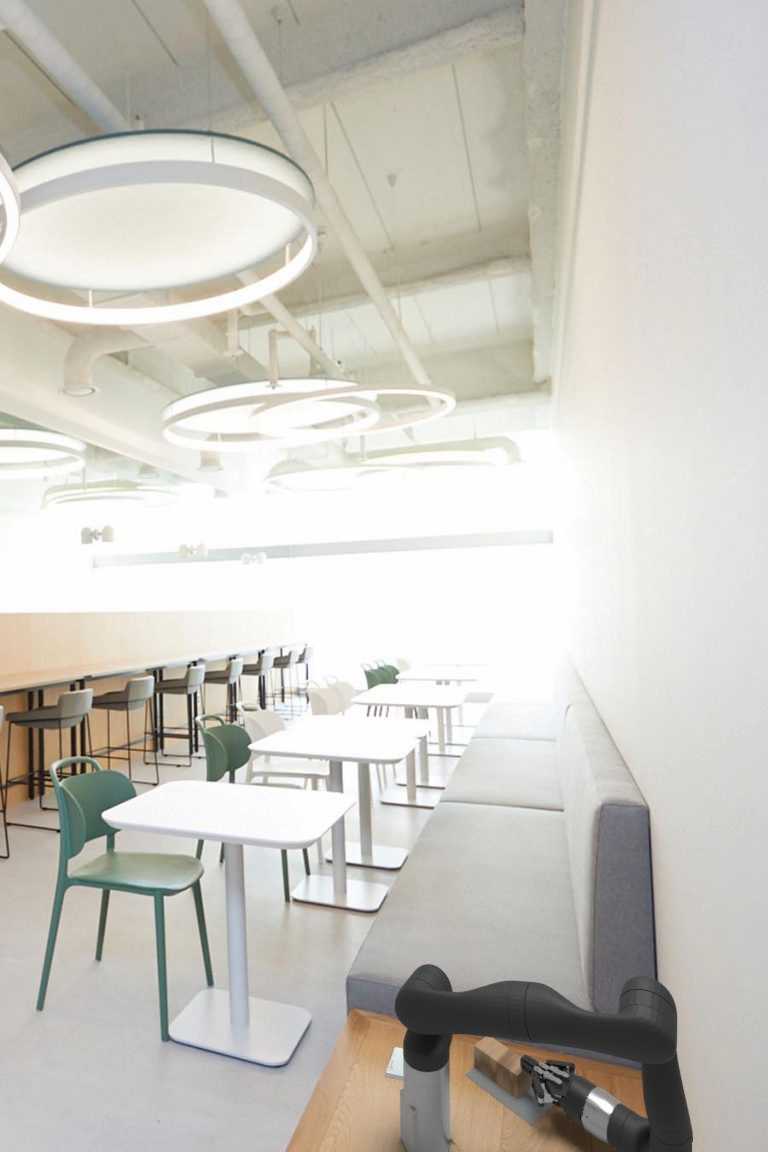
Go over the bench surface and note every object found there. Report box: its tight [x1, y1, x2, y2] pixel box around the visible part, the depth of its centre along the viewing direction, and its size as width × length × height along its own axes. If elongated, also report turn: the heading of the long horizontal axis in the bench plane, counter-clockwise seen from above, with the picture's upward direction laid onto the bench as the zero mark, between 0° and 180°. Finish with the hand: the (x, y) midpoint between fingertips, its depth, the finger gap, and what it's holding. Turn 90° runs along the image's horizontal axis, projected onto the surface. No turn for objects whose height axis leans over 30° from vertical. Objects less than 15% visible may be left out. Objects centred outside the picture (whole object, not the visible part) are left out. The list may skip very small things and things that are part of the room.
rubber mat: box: [464, 1066, 554, 1127], centre depth 140 cm, size 18×10×1 cm, turn 41°
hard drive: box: [385, 1046, 404, 1081], centre depth 147 cm, size 2×8×12 cm
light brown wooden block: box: [473, 1037, 532, 1099], centre depth 143 cm, size 5×5×12 cm
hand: (522, 1060), depth 139 cm, fingers closed
